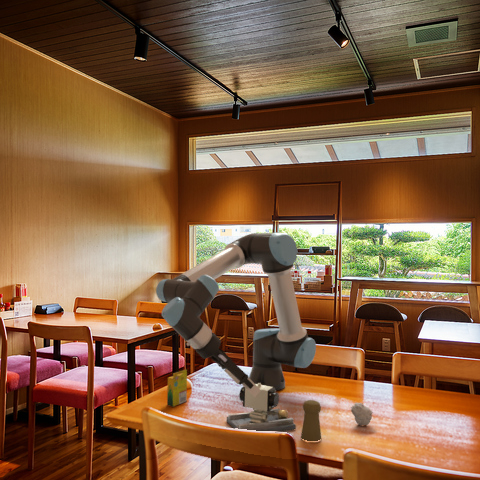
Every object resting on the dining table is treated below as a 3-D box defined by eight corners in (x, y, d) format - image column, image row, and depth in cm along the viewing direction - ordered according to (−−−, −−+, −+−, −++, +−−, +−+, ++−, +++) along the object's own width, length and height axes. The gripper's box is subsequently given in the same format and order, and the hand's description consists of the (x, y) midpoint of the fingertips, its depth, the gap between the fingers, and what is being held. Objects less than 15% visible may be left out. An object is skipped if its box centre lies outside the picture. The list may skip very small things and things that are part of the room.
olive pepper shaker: (298, 434, 135) (299, 397, 136) (318, 434, 136) (319, 397, 136) (303, 443, 129) (304, 404, 130) (323, 443, 130) (324, 404, 130)
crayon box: (180, 400, 164) (181, 367, 165) (186, 401, 163) (187, 369, 163) (166, 405, 158) (167, 371, 159) (172, 407, 157) (173, 373, 157)
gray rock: (348, 421, 147) (348, 399, 147) (370, 422, 147) (370, 400, 147) (352, 428, 141) (353, 406, 141) (375, 429, 141) (375, 407, 141)
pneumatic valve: (273, 428, 136) (273, 388, 136) (238, 420, 141) (239, 382, 142) (279, 422, 141) (280, 383, 141) (246, 415, 146) (246, 378, 147)
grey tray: (276, 415, 151) (277, 403, 151) (295, 429, 139) (296, 416, 139) (226, 421, 145) (226, 409, 145) (241, 437, 132) (242, 423, 133)
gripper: (184, 342, 145) (226, 384, 151) (207, 360, 122) (257, 409, 127) (200, 324, 147) (241, 367, 153) (226, 339, 124) (274, 389, 130)
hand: (248, 386), depth 140 cm, fingers open, 13 cm apart
